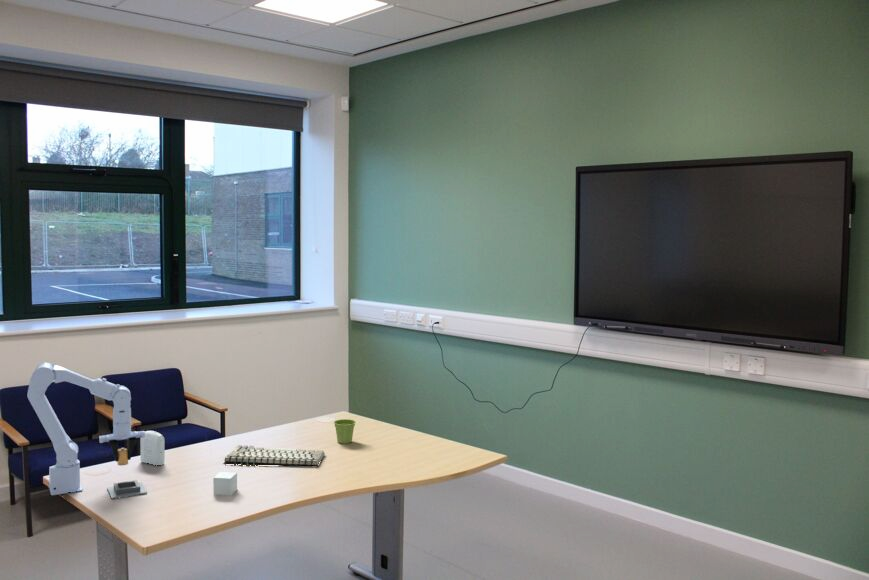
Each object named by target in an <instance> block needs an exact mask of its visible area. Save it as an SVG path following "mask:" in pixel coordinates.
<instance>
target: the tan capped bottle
mask: <svg viewBox="0 0 869 580" xmlns="http://www.w3.org/2000/svg"><path fill="white" fill-rule="evenodd" d="M117 465H118V466H126V465H129V460H128V448H125V447H121V448H118V462H117Z"/></svg>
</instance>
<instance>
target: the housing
mask: <svg viewBox="0 0 869 580" xmlns="http://www.w3.org/2000/svg"><path fill="white" fill-rule="evenodd" d="M107 488H108V489H107ZM107 488H106V489H107V492H108V491H109V492H108V494H109V493H110V494H109V496H111V497H110V499H111V498H112V499H111V500H114V499H113V498H118V499H120V498H119V497H124V498H127V497H126V496H130V497H134V496H133V495H136V496H140V495H139V494H143V495H146V494H145V493H147V494H148V491H147V489H146V488H145V485H144V484H143V482H142V481H140V482H139V481H138V480H137V479H135V480H128V481H121V482H115V483H113V485H112V486H107Z"/></svg>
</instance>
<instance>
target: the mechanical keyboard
mask: <svg viewBox="0 0 869 580" xmlns="http://www.w3.org/2000/svg"><path fill="white" fill-rule="evenodd" d="M325 454H326V453H325V451H324V450H319V449H317V450H316V451H315V450H314V449H308V450H306V449H299V448H298V449H296V448H282V447H278V448H277V447H265V448H264V447H256V448H255V446H254V445H249V446H248V445H241V444H240V445H239V444H238V445H237V446H236V447H235V448H234V449H232V451H231V452H230V453H228V454H227V455H226V456H225V457H224V460H223V461H224V462H223V463H222V464H223V465H226V464H234V466H233V465H231V467H237V466H236V464H237V465H238V464H241V465H240V466H239V467H244V466H243V465H246V466H245V467H253V466H255V465H256V466H258V465H282V466H281V467H298V466H317V465H318V464H319V462H320V461H321V460H322V459H323V458H324V456H325ZM322 461H323V460H322ZM250 465H251V466H250ZM317 467H318V466H317Z"/></svg>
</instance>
